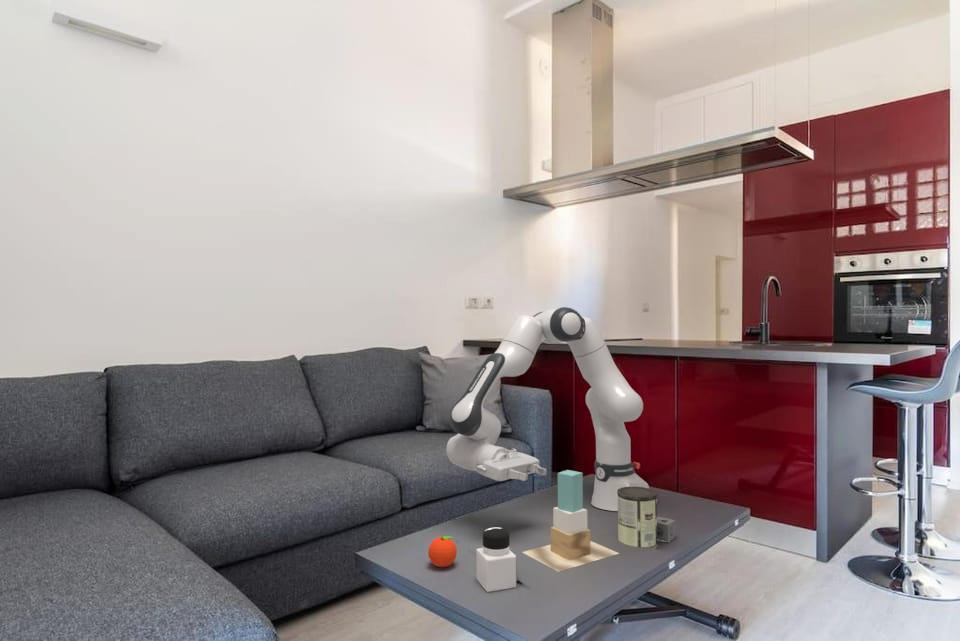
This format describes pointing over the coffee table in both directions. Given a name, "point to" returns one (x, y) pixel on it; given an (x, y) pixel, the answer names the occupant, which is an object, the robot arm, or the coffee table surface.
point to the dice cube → (665, 528)
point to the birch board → (561, 563)
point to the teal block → (570, 491)
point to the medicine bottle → (496, 561)
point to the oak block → (570, 544)
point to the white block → (570, 520)
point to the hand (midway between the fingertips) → (535, 475)
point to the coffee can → (637, 516)
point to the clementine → (442, 551)
